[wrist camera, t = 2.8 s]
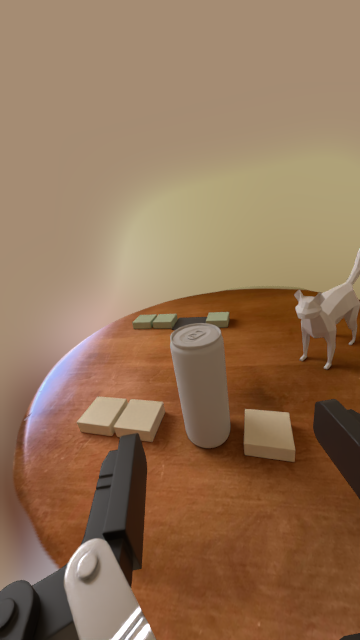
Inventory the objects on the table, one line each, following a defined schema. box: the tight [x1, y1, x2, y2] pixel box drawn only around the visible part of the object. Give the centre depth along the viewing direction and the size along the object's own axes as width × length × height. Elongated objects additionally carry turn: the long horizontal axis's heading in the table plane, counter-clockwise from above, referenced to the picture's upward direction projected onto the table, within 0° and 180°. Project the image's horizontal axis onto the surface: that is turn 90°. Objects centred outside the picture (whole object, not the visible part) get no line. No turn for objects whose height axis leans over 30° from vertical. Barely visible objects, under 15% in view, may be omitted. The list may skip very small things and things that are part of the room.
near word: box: [77, 397, 295, 462], centre depth 27 cm, size 23×4×2 cm, turn 74°
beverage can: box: [170, 323, 231, 448], centre depth 24 cm, size 5×5×12 cm
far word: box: [132, 312, 230, 330], centre depth 53 cm, size 21×6×2 cm, turn 74°
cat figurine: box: [294, 248, 360, 369], centre depth 34 cm, size 4×20×14 cm, turn 129°
